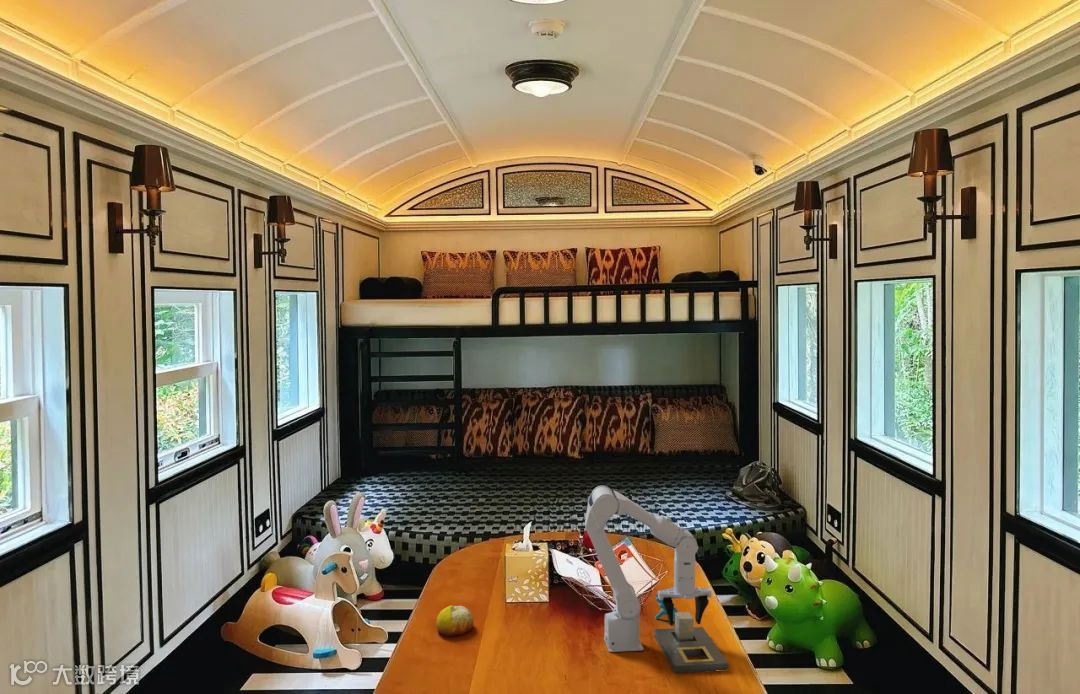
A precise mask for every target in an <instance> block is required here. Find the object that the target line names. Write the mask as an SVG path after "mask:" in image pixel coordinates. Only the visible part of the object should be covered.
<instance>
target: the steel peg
mask: <svg viewBox="0 0 1080 694" xmlns="http://www.w3.org/2000/svg"><path fill="white" fill-rule="evenodd" d="M694 618H695V617H693V616H692V614H691V613H690V611H686V612H685V611H684V612H683V611H682V612H681V611H679V612H677V613H675V621H674V628H675V639H676V641H677V642H686V641H693V627H694Z"/></svg>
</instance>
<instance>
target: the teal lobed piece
mask: <svg viewBox="0 0 1080 694" xmlns="http://www.w3.org/2000/svg"><path fill="white" fill-rule="evenodd" d="M655 597H656V598H655V600H656V601H657V602H658V606H659V607H660V608H661V609H660V610H659V612H658V614H656V615H655V616H654V618H655V619H656V620H658V619H660V618H661V617H662V616H663V615H664V614H665V616H666V615H667V612H666V609H665V606H664V604H663V602H662V600H659V598H658V592H657V593H656V594H655ZM675 613H678V609H677V608H676V607H675V606H674V609H673V622H675Z"/></svg>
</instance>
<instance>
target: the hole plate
mask: <svg viewBox="0 0 1080 694" xmlns="http://www.w3.org/2000/svg"><path fill="white" fill-rule="evenodd" d="M653 631H654V634H653V635H654V636H653V637H654V638H655V640H656V642H657V643H658V645H659V647H660V649H661V651H662V653H663V655H664V656H665V658H666V661H667V662H668V663H669V666H670V668H671V669H672V671H673V673H674V674H675V675H676V674H690V673H707V672H706V671H714V672H717V671H716V670H727V669H728V670H729V662H728V661H727V659H726V658H725V656H724V655H723V653H722V652H721V651H720V650H719V648H718V646H717V644H715V643H714V640H712V638H711V636H709V634H708V633H707V631H706V630H705V628H704V627H703V626H693V641H686V642H677V641H676V639H675V627H673V628H671V627H670V628H655V629H653ZM691 657H692V658H694V657H701V658H702V659H688V658H691Z"/></svg>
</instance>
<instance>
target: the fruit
mask: <svg viewBox="0 0 1080 694" xmlns="http://www.w3.org/2000/svg"><path fill="white" fill-rule="evenodd" d="M435 625H436V629H437V632H438V633H439V635H442V636H445V637H454V636H461V635H463V634H465V633H469V632H470V631H471V630H472V628H473V626H474V616H473V613H472V612H471V610H470V609H469V608H466V607H465V606H462V605H457V606H455V605H452V604H451V605H448V606H447V607H445V608H443V609H442V610H440V611H439V613H438V616H437V618H436V623H435Z"/></svg>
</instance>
